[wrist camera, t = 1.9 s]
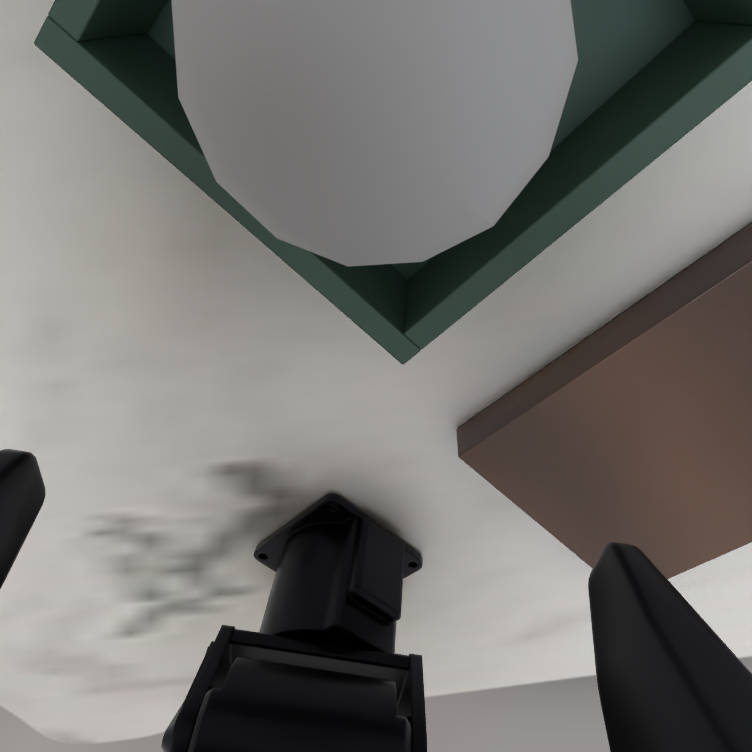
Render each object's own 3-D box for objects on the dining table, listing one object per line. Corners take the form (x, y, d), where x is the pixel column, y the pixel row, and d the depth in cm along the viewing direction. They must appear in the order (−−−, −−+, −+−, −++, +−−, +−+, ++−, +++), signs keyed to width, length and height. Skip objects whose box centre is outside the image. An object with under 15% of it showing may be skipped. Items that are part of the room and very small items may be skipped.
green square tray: (408, 304, 21) (403, 365, 18) (115, 34, 17) (32, 43, 14) (733, 18, 16) (822, 24, 12) (414, -492, 11) (406, -715, 8)
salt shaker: (323, 141, 18) (158, 355, 7) (292, -89, 15) (-82, -318, 4) (510, 126, 17) (635, 339, 7) (519, -119, 14) (789, -490, 3)
